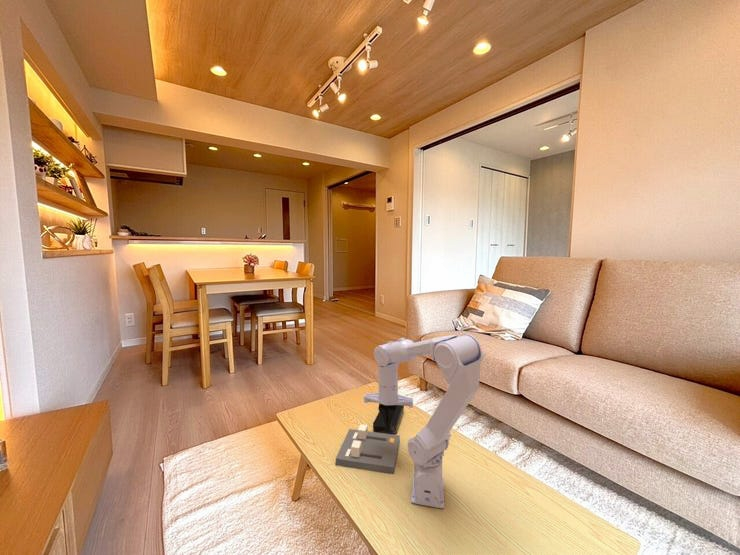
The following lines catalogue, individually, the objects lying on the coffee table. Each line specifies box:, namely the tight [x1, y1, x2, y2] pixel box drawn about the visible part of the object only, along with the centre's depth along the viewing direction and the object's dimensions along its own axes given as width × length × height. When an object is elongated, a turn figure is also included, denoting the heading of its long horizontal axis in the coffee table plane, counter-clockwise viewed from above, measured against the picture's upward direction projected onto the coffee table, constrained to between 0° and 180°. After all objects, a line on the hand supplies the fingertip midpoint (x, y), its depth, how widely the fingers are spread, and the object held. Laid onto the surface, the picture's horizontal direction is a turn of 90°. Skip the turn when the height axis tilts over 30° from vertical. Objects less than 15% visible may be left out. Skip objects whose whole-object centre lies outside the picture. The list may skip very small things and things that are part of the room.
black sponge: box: [372, 405, 405, 434], centre depth 107 cm, size 16×8×4 cm, turn 162°
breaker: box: [351, 440, 362, 457], centre depth 88 cm, size 3×2×3 cm
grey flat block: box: [335, 428, 401, 475], centre depth 91 cm, size 14×17×2 cm
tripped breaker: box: [357, 423, 369, 440], centre depth 95 cm, size 3×2×3 cm
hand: (388, 426), depth 89 cm, fingers closed
